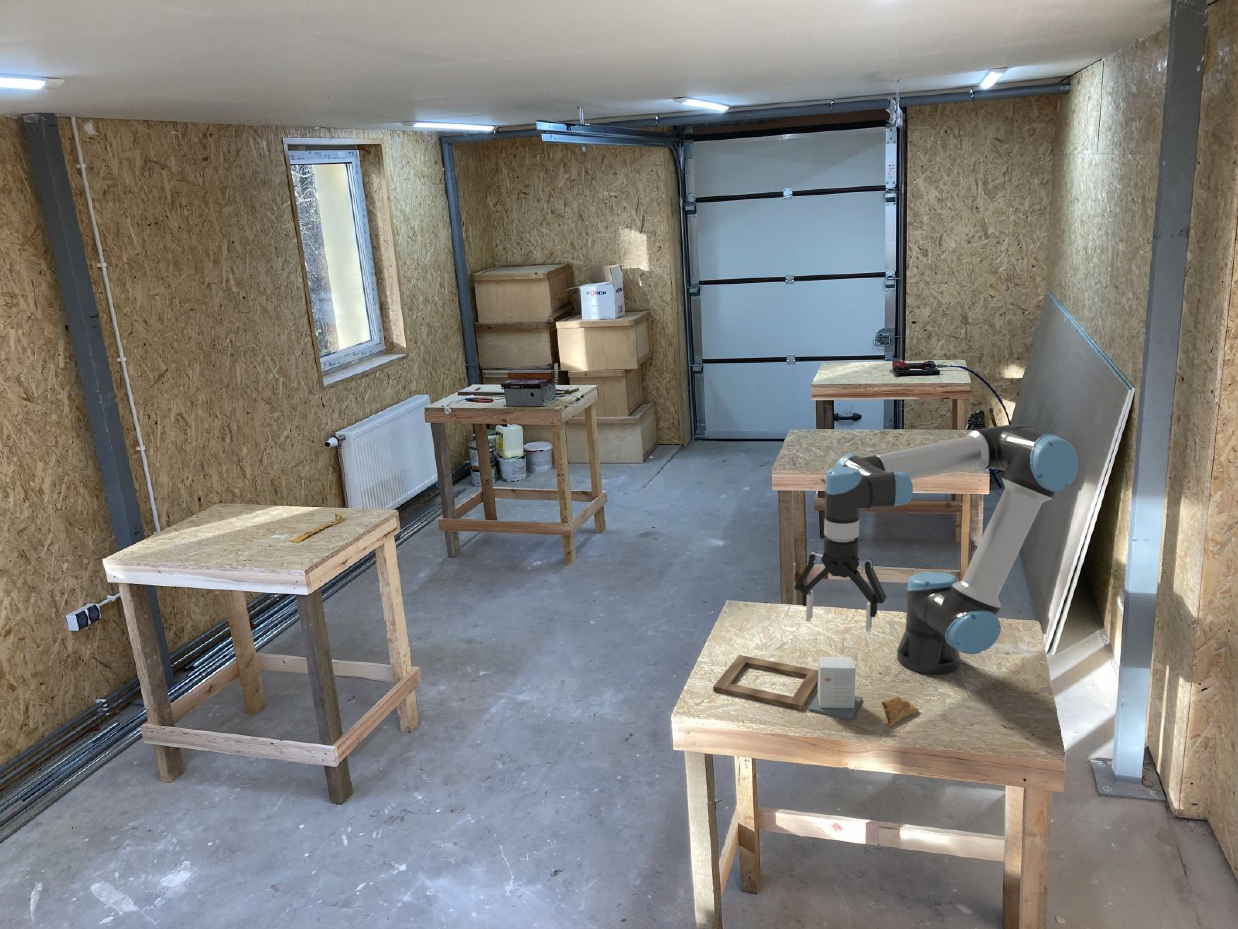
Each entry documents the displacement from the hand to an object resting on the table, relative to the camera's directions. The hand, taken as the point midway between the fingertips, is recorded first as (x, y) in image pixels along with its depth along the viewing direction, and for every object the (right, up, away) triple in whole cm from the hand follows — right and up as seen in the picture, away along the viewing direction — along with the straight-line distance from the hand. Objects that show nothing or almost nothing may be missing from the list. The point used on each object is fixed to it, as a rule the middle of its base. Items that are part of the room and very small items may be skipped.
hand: (838, 624), depth 215 cm
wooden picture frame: (-13, -17, +16) cm, 27 cm away
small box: (0, -19, +5) cm, 20 cm away
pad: (+1, -20, +6) cm, 21 cm away
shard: (+15, -21, +1) cm, 26 cm away
